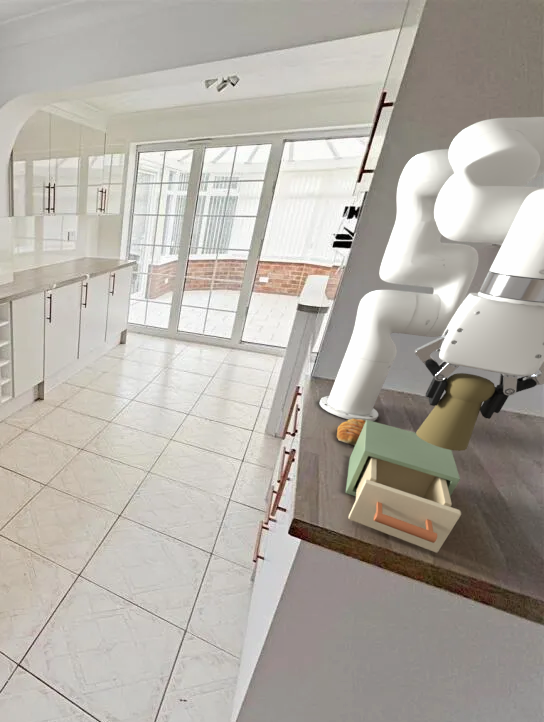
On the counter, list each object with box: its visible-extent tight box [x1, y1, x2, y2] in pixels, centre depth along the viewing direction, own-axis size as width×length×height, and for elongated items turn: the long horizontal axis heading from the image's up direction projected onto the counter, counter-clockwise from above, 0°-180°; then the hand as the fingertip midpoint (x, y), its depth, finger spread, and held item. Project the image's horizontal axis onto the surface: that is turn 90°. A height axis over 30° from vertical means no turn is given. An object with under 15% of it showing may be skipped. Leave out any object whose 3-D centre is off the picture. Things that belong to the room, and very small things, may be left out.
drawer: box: [348, 456, 462, 554], centre depth 68 cm, size 18×11×8 cm, turn 142°
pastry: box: [336, 419, 366, 447], centre depth 94 cm, size 9×7×4 cm
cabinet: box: [345, 420, 461, 497], centre depth 77 cm, size 15×13×10 cm
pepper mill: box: [415, 372, 496, 452], centre depth 62 cm, size 6×6×11 cm
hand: (458, 407), depth 62 cm, fingers closed on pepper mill, 5 cm apart
